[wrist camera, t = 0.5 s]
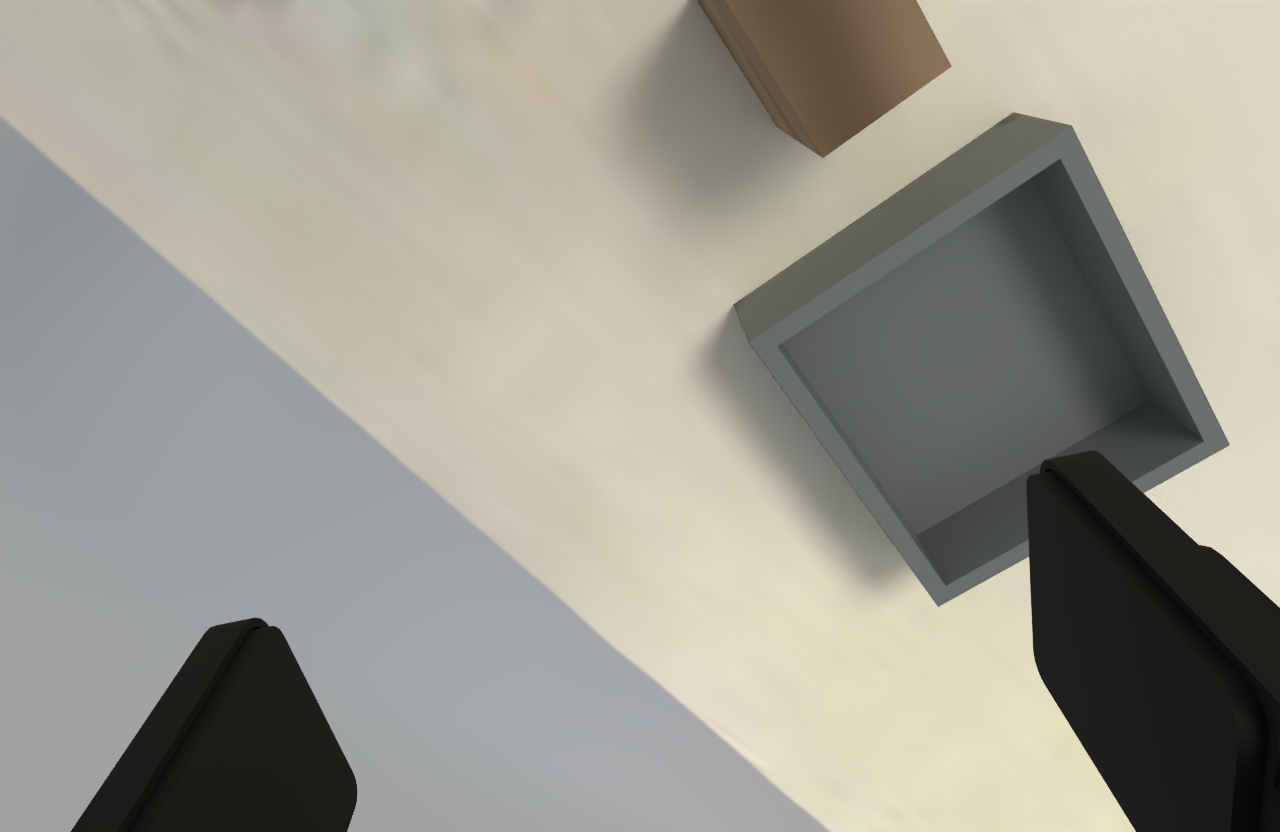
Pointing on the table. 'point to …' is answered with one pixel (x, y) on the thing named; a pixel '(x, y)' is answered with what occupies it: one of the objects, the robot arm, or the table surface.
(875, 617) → the table surface
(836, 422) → the bin
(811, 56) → the walnut block
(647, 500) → the table surface
